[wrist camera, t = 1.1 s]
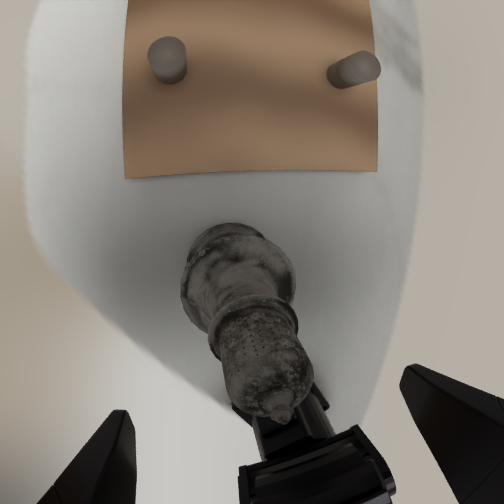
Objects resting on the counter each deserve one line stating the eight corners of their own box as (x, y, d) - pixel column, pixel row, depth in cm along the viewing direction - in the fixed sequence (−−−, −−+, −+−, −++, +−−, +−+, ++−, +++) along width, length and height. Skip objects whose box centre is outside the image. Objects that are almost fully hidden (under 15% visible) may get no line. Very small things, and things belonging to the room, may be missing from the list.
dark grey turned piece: (162, 254, 18) (130, 413, 6) (247, 198, 18) (342, 292, 6) (217, 323, 20) (250, 488, 9) (294, 275, 20) (396, 412, 9)
